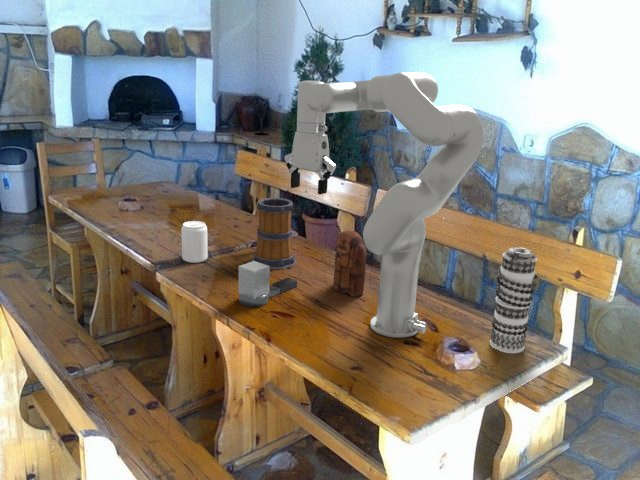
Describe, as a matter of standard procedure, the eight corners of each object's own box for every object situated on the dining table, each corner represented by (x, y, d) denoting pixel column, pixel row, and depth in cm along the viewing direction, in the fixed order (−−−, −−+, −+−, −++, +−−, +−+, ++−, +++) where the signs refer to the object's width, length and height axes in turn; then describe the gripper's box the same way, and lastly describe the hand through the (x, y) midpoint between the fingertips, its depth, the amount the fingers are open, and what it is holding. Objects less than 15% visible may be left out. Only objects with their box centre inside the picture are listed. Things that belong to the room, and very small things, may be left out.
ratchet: (303, 288, 192) (304, 269, 190) (253, 309, 176) (254, 288, 174) (283, 281, 196) (283, 262, 194) (233, 301, 180) (233, 281, 179)
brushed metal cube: (269, 293, 181) (269, 266, 178) (254, 299, 176) (254, 271, 174) (253, 287, 184) (254, 260, 182) (238, 293, 180) (238, 266, 177)
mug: (241, 252, 220) (241, 194, 214) (280, 247, 226) (282, 191, 220) (260, 271, 203) (261, 209, 197) (303, 266, 209) (305, 206, 203)
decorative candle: (497, 333, 168) (510, 241, 160) (531, 345, 163) (546, 250, 155) (481, 345, 161) (494, 250, 154) (516, 357, 156) (531, 259, 148)
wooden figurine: (325, 286, 194) (328, 228, 188) (341, 281, 198) (344, 225, 192) (353, 299, 186) (357, 239, 180) (369, 293, 190) (373, 235, 184)
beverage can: (179, 256, 213) (178, 221, 209) (203, 254, 216) (203, 219, 212) (185, 265, 206) (184, 228, 202) (210, 262, 209) (210, 226, 205)
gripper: (345, 131, 172) (341, 194, 177) (295, 123, 182) (293, 183, 187) (327, 133, 166) (324, 198, 172) (277, 125, 176) (276, 187, 182)
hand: (308, 190), depth 180 cm, fingers open, 9 cm apart
